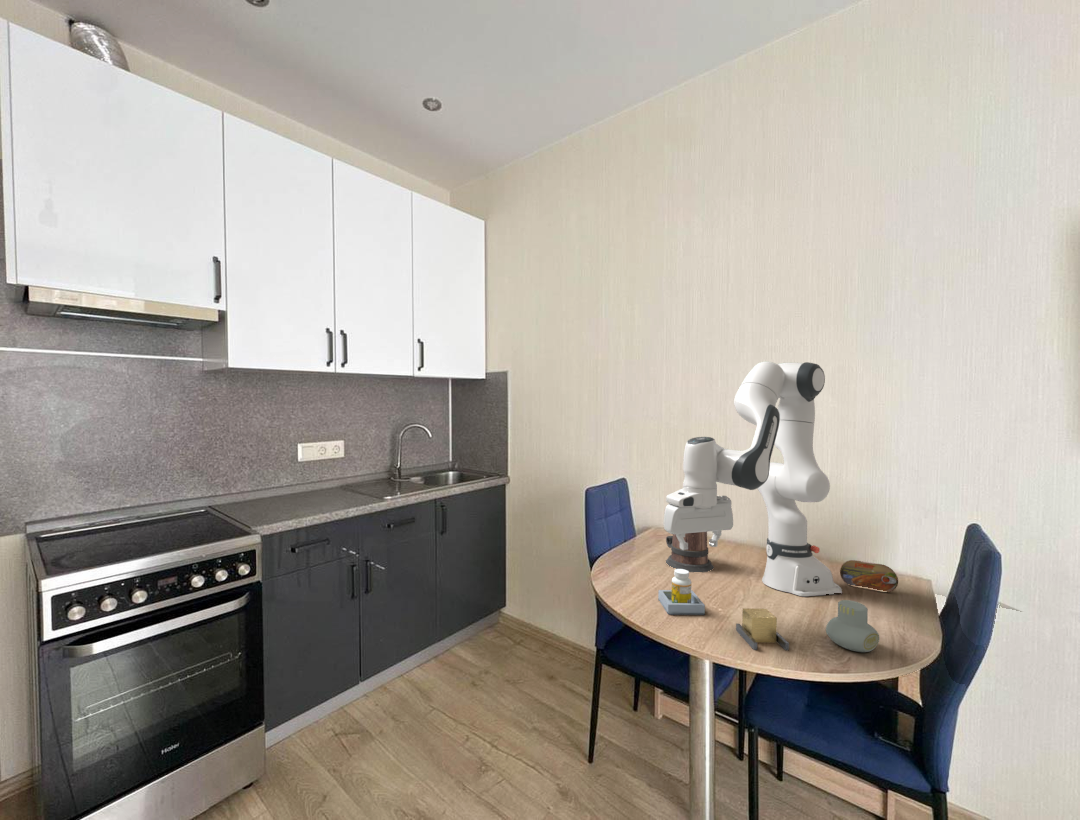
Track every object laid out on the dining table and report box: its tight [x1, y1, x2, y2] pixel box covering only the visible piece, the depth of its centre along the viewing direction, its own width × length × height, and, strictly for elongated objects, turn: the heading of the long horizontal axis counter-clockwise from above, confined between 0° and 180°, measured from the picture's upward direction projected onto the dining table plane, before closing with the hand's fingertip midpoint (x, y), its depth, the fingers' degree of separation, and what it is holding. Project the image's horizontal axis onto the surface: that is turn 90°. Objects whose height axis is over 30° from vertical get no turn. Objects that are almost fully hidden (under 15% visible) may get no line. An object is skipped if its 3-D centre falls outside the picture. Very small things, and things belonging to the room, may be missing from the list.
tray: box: [657, 589, 706, 616], centre depth 130 cm, size 10×10×3 cm
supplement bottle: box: [671, 569, 692, 603], centre depth 130 cm, size 5×5×10 cm
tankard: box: [665, 532, 715, 573], centre depth 170 cm, size 24×17×20 cm
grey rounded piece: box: [825, 599, 880, 653], centre depth 110 cm, size 11×8×10 cm
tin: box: [839, 559, 899, 593], centre depth 146 cm, size 15×3×8 cm, turn 56°
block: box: [741, 607, 778, 644], centre depth 113 cm, size 6×5×6 cm
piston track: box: [735, 623, 790, 652], centre depth 116 cm, size 10×18×2 cm, turn 0°
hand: (698, 547), depth 125 cm, fingers open, 8 cm apart
